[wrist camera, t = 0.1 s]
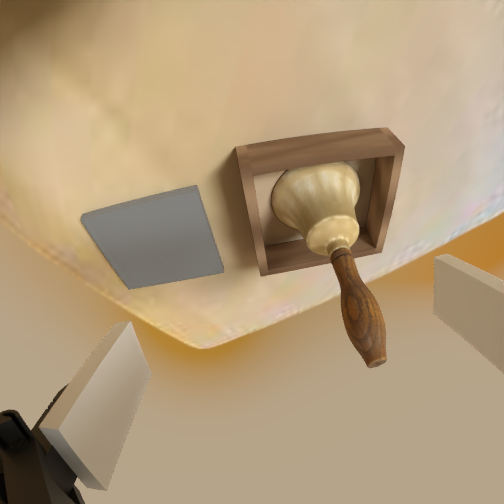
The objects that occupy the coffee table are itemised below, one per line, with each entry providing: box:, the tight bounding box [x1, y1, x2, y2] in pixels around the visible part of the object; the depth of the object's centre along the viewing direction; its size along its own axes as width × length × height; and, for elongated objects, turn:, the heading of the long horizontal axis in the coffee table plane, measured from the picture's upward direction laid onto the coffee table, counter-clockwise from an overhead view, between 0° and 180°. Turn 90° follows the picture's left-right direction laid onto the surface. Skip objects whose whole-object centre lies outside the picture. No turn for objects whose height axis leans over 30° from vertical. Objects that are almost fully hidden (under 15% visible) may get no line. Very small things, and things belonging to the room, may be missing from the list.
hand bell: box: [272, 161, 387, 368], centre depth 22 cm, size 8×8×16 cm
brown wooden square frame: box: [236, 128, 405, 276], centre depth 26 cm, size 13×13×3 cm
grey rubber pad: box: [81, 185, 224, 289], centre depth 29 cm, size 11×11×1 cm
